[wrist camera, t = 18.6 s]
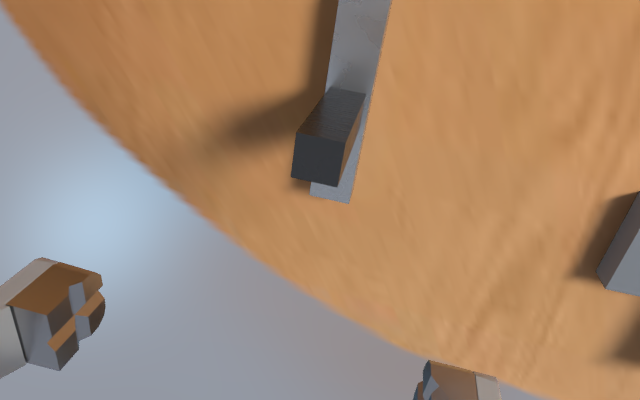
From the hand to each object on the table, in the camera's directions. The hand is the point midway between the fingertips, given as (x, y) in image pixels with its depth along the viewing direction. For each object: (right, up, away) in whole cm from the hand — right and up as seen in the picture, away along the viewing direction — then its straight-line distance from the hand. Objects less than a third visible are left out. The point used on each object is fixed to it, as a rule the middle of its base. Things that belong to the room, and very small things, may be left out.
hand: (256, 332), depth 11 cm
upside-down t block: (+4, +10, +21) cm, 23 cm away
